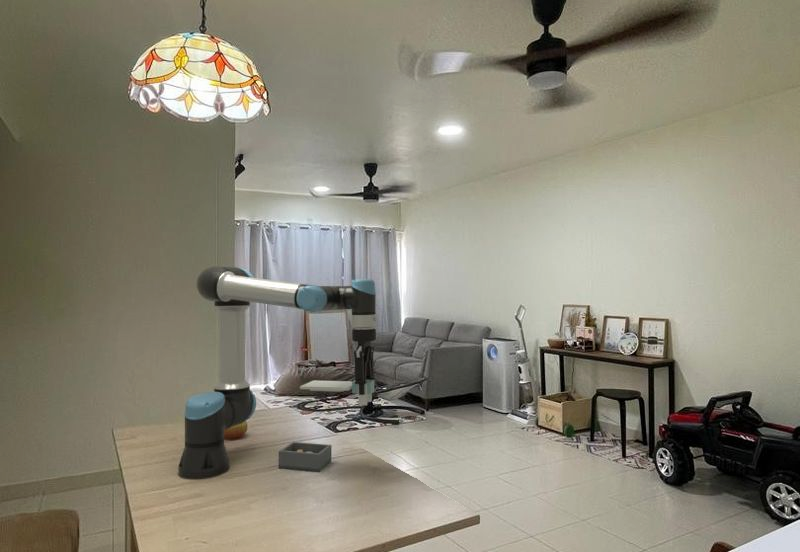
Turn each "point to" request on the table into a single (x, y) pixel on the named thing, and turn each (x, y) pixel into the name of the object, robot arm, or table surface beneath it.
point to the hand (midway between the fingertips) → (365, 403)
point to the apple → (236, 431)
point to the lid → (337, 386)
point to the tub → (305, 457)
